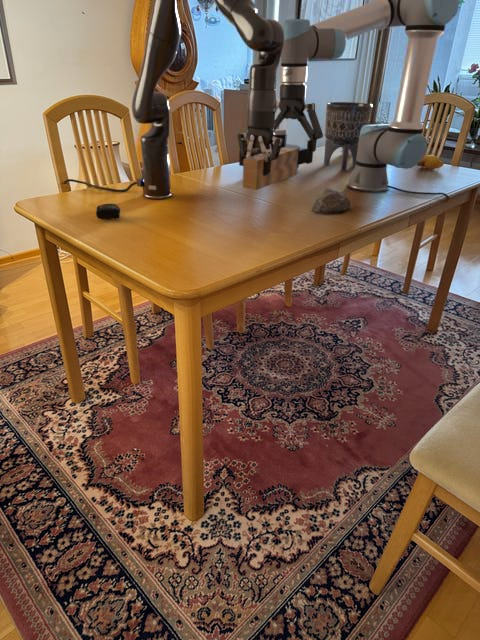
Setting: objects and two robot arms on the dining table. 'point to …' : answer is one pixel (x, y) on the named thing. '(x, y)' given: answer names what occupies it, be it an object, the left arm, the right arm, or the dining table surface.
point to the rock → (331, 202)
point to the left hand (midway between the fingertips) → (258, 173)
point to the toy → (430, 162)
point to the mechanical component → (282, 134)
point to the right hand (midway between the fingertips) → (289, 160)
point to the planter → (345, 128)
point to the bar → (279, 169)
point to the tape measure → (108, 211)
